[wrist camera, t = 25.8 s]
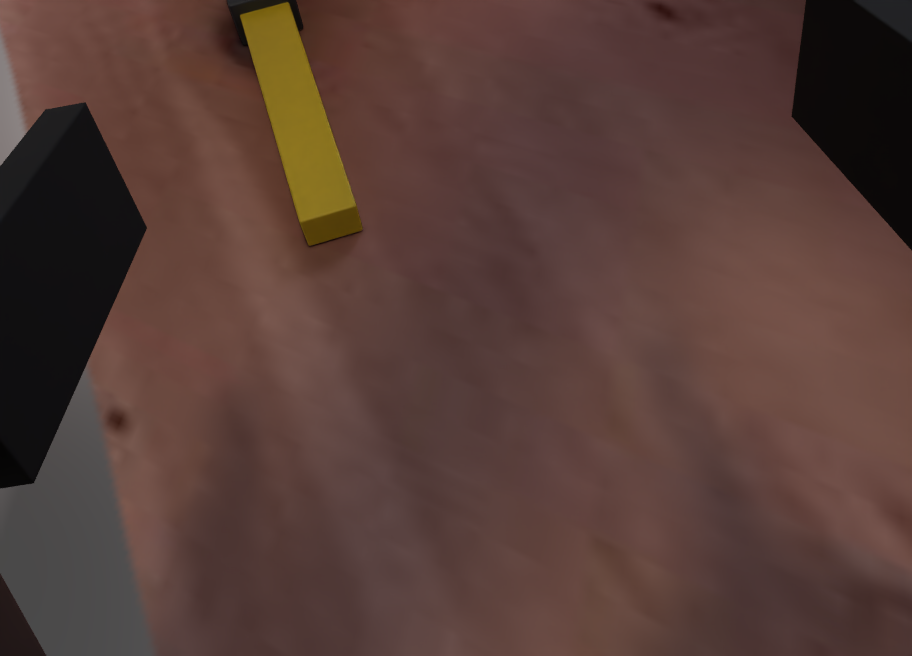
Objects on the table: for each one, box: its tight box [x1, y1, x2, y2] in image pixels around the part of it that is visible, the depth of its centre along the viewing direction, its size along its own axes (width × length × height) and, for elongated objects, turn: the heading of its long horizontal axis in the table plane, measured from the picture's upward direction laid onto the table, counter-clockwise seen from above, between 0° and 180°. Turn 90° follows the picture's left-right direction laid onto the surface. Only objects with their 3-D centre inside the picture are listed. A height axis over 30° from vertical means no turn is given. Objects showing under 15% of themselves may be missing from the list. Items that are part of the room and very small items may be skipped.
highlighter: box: [227, 0, 363, 246], centre depth 30 cm, size 16×3×2 cm, turn 18°
